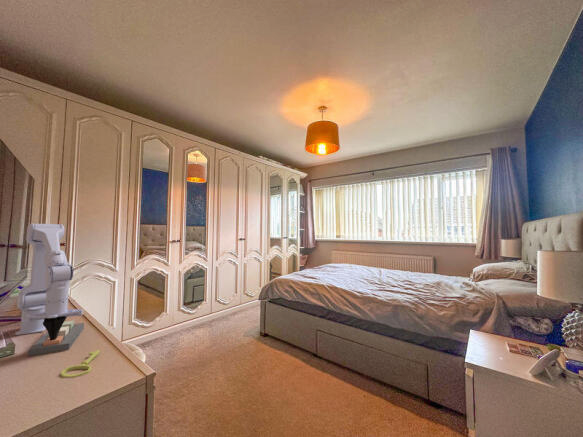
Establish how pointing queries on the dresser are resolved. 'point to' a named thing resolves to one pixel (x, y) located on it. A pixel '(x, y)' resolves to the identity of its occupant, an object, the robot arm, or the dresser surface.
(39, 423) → the dresser surface
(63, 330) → the cream key
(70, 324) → the sage key
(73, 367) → the key
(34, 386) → the dresser surface
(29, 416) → the dresser surface
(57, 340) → the terracotta key
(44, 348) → the grey flat frame
